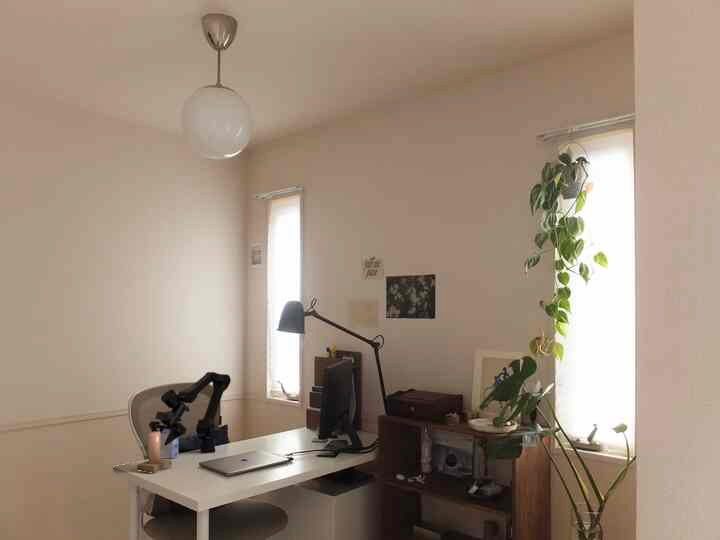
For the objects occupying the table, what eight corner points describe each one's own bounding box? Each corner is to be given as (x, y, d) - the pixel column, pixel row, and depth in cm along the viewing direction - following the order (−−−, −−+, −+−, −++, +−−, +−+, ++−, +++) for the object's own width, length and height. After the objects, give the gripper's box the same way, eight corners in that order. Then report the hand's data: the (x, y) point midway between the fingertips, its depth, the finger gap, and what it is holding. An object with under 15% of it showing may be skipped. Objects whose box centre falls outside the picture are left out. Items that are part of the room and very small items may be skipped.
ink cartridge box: (179, 456, 267) (178, 425, 268) (173, 459, 262) (172, 427, 263) (160, 455, 269) (160, 425, 270) (154, 458, 264) (153, 427, 265)
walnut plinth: (155, 465, 251) (155, 458, 251) (171, 467, 247) (171, 460, 247) (137, 471, 242) (137, 464, 242) (153, 473, 238) (153, 466, 238)
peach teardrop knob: (162, 460, 247) (162, 431, 248) (157, 463, 242) (157, 433, 243) (151, 461, 247) (151, 431, 248) (146, 464, 242) (146, 433, 243)
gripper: (151, 403, 257) (132, 432, 247) (180, 404, 248) (162, 435, 238) (164, 417, 263) (146, 446, 253) (194, 419, 255) (176, 449, 244)
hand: (157, 444), depth 247 cm, fingers open, 9 cm apart
